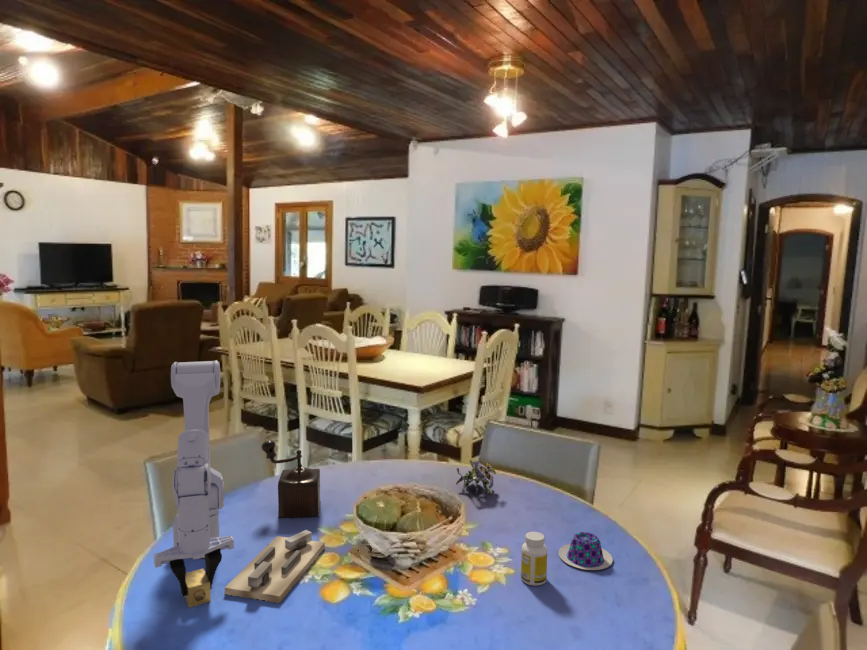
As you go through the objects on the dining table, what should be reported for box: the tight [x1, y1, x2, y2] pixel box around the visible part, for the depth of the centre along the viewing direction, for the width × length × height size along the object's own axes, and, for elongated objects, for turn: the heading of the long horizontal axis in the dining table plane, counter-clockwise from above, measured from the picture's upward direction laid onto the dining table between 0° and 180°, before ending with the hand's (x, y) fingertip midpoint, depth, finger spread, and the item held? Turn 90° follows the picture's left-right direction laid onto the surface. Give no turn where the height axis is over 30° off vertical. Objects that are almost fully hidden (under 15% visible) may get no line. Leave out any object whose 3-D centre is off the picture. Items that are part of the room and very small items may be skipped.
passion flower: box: [455, 458, 497, 496], centre depth 170 cm, size 11×11×12 cm
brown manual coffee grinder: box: [261, 439, 322, 519], centre depth 156 cm, size 16×11×18 cm
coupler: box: [184, 567, 212, 608], centre depth 117 cm, size 4×7×4 cm, turn 33°
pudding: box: [558, 531, 614, 571], centre depth 135 cm, size 12×12×5 cm
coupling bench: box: [224, 529, 326, 604], centre depth 128 cm, size 12×22×4 cm, turn 167°
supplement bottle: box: [520, 531, 548, 587], centre depth 125 cm, size 5×5×10 cm
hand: (196, 590), depth 118 cm, fingers closed on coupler, 4 cm apart
